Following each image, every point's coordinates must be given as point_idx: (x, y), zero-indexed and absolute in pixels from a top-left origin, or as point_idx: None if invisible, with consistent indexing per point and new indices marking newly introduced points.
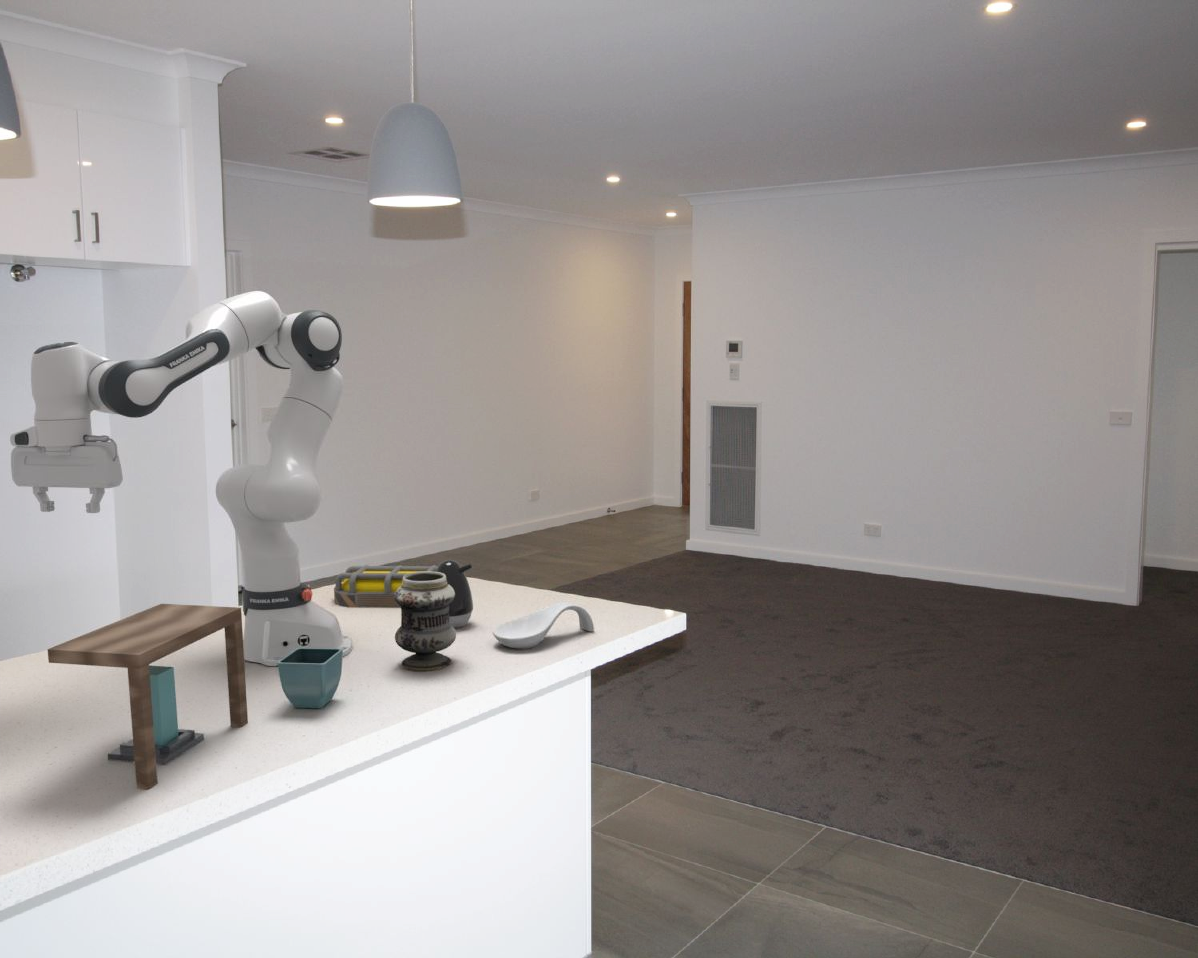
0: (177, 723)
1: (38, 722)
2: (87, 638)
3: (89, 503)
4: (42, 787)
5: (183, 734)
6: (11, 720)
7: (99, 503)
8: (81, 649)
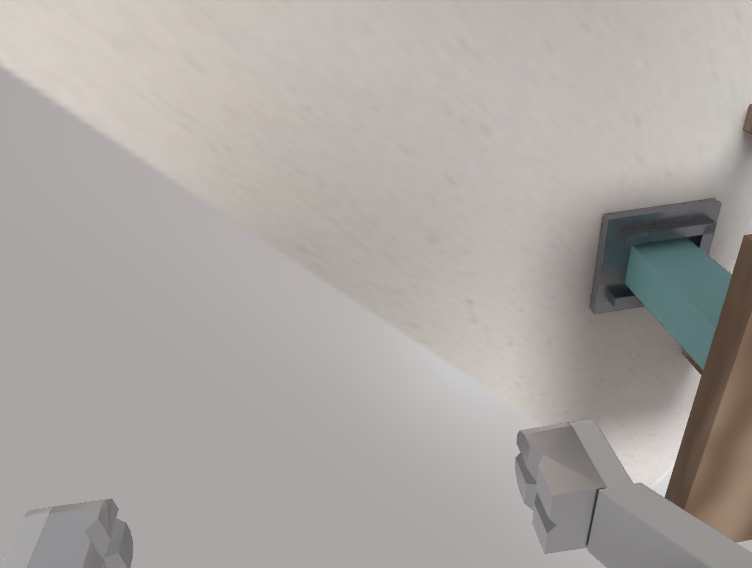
0: (704, 253)
1: (340, 236)
2: (712, 502)
3: (581, 545)
4: (552, 391)
5: (703, 243)
6: (276, 246)
7: (626, 474)
8: (735, 536)
